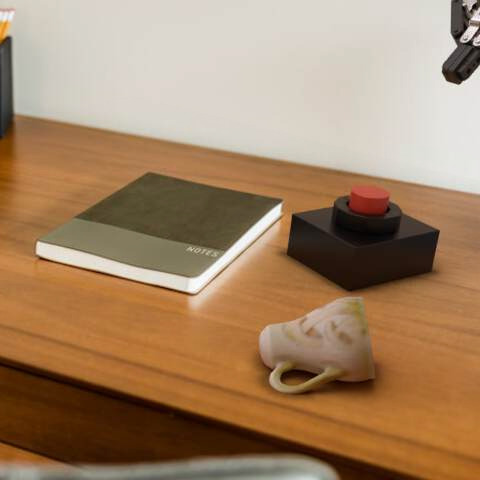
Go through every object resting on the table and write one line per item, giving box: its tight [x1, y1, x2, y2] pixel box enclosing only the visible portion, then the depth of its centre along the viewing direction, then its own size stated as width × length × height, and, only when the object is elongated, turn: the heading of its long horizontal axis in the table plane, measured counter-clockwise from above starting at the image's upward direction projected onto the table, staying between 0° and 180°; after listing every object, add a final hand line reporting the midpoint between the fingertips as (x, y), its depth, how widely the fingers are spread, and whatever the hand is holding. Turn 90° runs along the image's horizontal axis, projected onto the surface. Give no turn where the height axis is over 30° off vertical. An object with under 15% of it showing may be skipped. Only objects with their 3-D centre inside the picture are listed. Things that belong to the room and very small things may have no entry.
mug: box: [258, 296, 376, 395], centre depth 76 cm, size 8×10×10 cm
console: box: [286, 194, 441, 293], centre depth 97 cm, size 12×10×7 cm
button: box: [349, 184, 391, 214], centre depth 96 cm, size 4×4×2 cm
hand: (449, 78), depth 95 cm, fingers closed
